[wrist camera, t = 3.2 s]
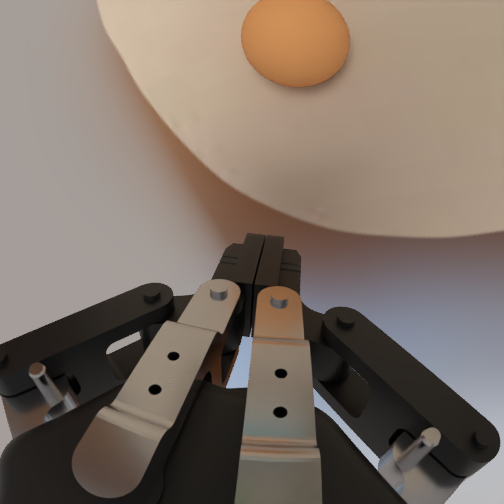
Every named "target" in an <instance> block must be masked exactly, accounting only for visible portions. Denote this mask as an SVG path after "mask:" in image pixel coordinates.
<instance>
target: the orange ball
mask: <svg viewBox="0 0 504 504" xmlns="http://www.w3.org/2000/svg"><path fill="white" fill-rule="evenodd" d="M241 42H242V47H243V50H244V53H245V55H246V57H247V59H248V61H249V62H250V64H251V65H252V66H253V67H254V68H255V70H256V71H258V72H259V73H260V74H261V75H262V76H264V77H265V78H267V79H269V80H271V81H273V82H275V83H278V84H281V85H285V86H291V87H306V86H311V85H315V84H318V83H321V82H323V81H325V80H327V79H329V78H330V77H332V76H333V75H334V74H335V73H336V72H337V71H338V70H339V69H340V68H341V66H342V65H343V63H344V62H345V60H346V57H347V55H348V52H349V46H350V35H349V30H348V27H347V24H346V22H345V20H344V18H343V16H342V15H341V14H340V12H339V11H338V10H337V9H336V8H335V7H334V6H333V5H332V4H331V3H330V2H328V1H327V0H260V1H259V2H257V3H256V4H255V5H254V6H253V7H252V8H251V10H250V11H249V12H248V14H247V16H246V17H245V20H244V22H243V26H242V31H241Z"/></svg>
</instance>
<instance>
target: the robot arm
mask: <svg viewBox="0 0 504 504" xmlns="http://www.w3.org/2000/svg"><path fill="white" fill-rule="evenodd" d="M283 245H284V237H281V236H271V235H267V236H266V240H265V235H262V234H252V233H247V236H246V238H245V241H244V244H235V243H233V244H232V245H230V246H229V247H227V248H226V249H225V251H224V253H223V256H222V258H221V260H220V263H219V264H218V266H217V269H216V271H215V273H214V275H213V277H212V280H209V281H207V282H204V283H203V284H202V285H200V287H199V288H198V290H197V291H196V293H195V294H193V295H186V296H173V291H172V289H171V288H170V287H168V286H167V285H165V284H161V283H149V284H145V285H142V286H139V287H137V288H135V289H132V290H130V291H127V292H125V293H122V294H120V295H117V296H115V297H113V298H110V299H108V300H106V301H103V302H101V303H98V304H96V305H93V306H91V307H88V308H86V309H84V310H81V311H79V312H77V313H74V314H72V315H69V316H67V317H64V318H62V319H60V320H57V321H55V322H52V323H50V324H48V325H45V326H43V327H41V328H38V329H36V330H33V331H31V332H29V333H26V334H24V335H22V336H19V337H17V338H14V339H12V340H10V341H7V342H5V343H3V344H0V396H1V398H2V401H3V405H4V409H5V413H6V417H7V420H8V424H9V427H10V431H11V434H12V437H13V440H11V442H10V443H9V444H8V445H7V446H6V447H5V449H4V451H3V453H2V455H1V458H0V504H444V503H445V502H446V501H447V500H448V498H449V497H450V496H451V495H452V494H453V493H454V491H455V490H456V489H457V488H458V487H459V485H460V484H461V483H462V482H463V481H465V480H466V479H467V478H469V477H470V476H472V475H473V474H474V473H475V472H477V471H478V470H480V469H481V468H482V467H483V466H485V465H486V464H487V463H488V462H490V461H491V460H492V459H493V458H494V457H495V456H496V455H497V453H498V451H499V448H500V437H499V433H498V431H497V430H496V428H495V427H494V426H493V425H492V423H490V422H489V421H488V420H487V419H486V418H485V417H484V416H482V415H481V414H480V413H479V412H478V411H477V410H475V409H474V408H473V407H472V406H471V405H470V404H469V403H467V402H466V401H465V400H464V399H463V398H462V397H460V396H459V395H458V394H457V393H456V392H454V391H453V390H452V389H451V388H450V387H449V386H448V385H446V384H445V383H444V382H443V381H442V380H440V379H439V378H438V377H437V376H436V375H435V374H433V373H432V372H431V371H430V370H429V369H427V368H426V367H425V366H424V365H423V364H421V363H420V362H419V361H418V360H417V359H415V358H414V357H413V356H412V355H411V354H410V353H408V352H407V351H406V350H405V349H403V348H402V347H401V346H400V345H399V344H397V343H396V342H395V341H394V340H393V339H391V338H390V337H389V336H388V335H387V334H385V333H384V332H383V331H382V330H380V329H379V328H378V327H377V326H376V325H374V324H373V323H372V322H370V321H369V320H368V319H367V318H366V317H365V316H363V315H362V314H361V313H360V312H358V311H356V310H354V309H351V308H348V307H334V308H331V309H329V310H328V311H327V312H326V313H325V314H321V313H318V312H316V311H313V310H311V309H309V308H308V307H307V306H305V305H304V304H303V302H302V301H301V298H300V273H301V271H300V270H301V257H300V255H299V254H298V252H297V251H296V250H290V249H283ZM251 328H252V334H251V337H253V342H252V353H251V362H250V371H249V380H248V388H231V389H227V388H226V386H227V383H228V380H229V378H230V375H231V372H232V369H233V367H234V364H235V361H236V359H237V356H238V352H239V345H240V343H241V339H242V336H246V337H249V336H250V332H251ZM138 331H139V332H140V336H141V339H140V340H138V341H136V342H133V343H131V344H129V345H127V346H125V347H123V348H121V349H119V350H116V351H115V352H112V353H110V354H106V351H107V348H108V347H109V346H110V345H111V344H112V343H114V342H116V341H118V340H121V339H123V338H125V337H127V336H129V335H131V334H134V333H136V332H138ZM352 368H353V369H354V370H355V371H354V370H353V369H352ZM313 388H314V389H315V390H316V391H317V392H318V393H319V394H320V396H321V397H322V398H323V399H324V400H325V401H326V402H327V403H328V404H329V405H330V406H331V408H332V409H333V410H334V411H335V412H336V413H337V414H338V415H339V416H340V417H341V418H342V419H343V421H345V423H346V424H347V425H348V426H349V427H350V428H351V429H352V430H353V431H354V432H355V433H356V434H357V436H358V437H360V439H361V440H362V441H363V442H364V443H365V444H366V445H367V446H368V447H369V448H370V449H371V450H372V451H373V452H374V453H375V454H376V455H377V456H378V457H379V458H380V460H379V463H378V471H377V469H376V468H375V467H374V466H373V465H372V464H371V463H370V462H369V460H368V459H367V458H366V457H365V456H364V455H363V454H362V453H361V451H360V450H359V449H358V448H357V447H356V446H355V444H354V443H353V442H352V441H351V440H350V439H349V438H348V436H347V435H346V434H345V433H344V432H343V430H341V428H340V427H339V426H338V425H337V424H336V422H335V421H334V420H333V419H332V418H331V417H329V416H328V415H327V414H326V413H324V412H323V411H322V410H320V409H318V408H316V407H314V396H313Z"/></svg>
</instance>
